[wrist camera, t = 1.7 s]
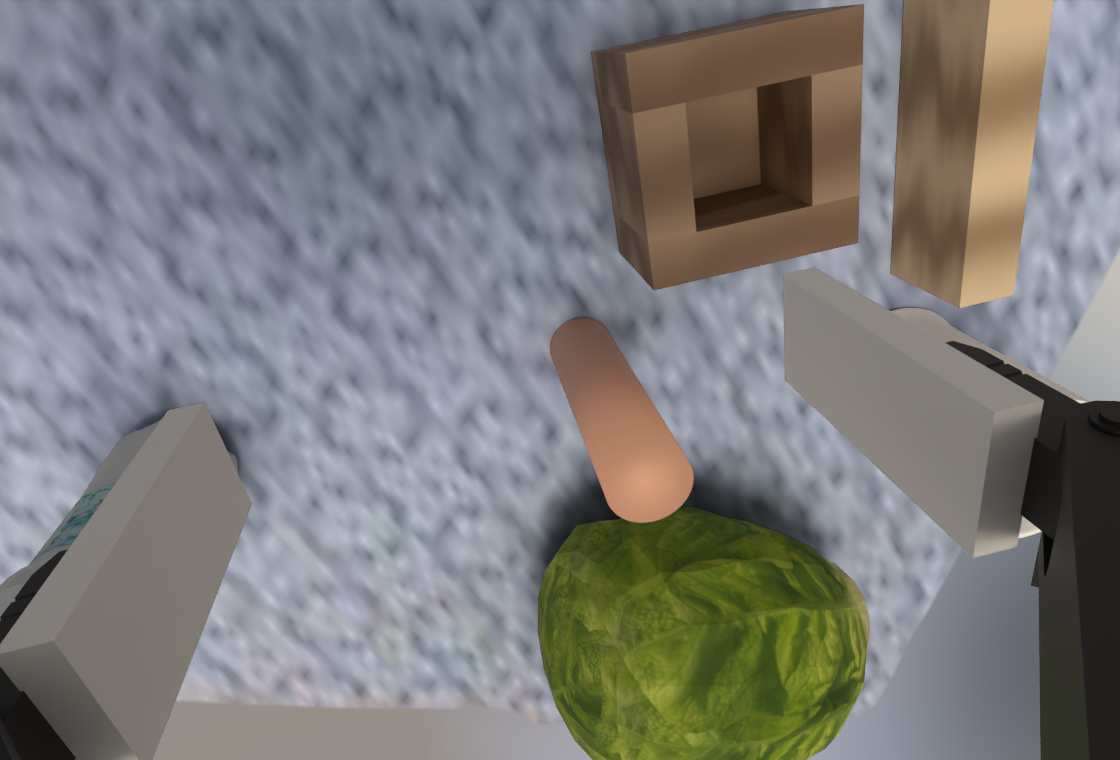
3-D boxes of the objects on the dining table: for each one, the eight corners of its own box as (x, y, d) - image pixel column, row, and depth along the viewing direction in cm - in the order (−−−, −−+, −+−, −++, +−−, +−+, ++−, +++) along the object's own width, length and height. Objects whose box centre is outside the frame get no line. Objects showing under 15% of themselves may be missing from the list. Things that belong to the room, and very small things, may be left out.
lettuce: (730, 632, 56) (897, 776, 43) (496, 707, 46) (627, 924, 33) (768, 449, 51) (966, 551, 39) (518, 485, 41) (679, 640, 28)
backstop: (910, -136, 32) (1007, -173, 26) (970, -148, 32) (1079, -186, 26) (890, 273, 41) (959, 308, 35) (937, 262, 41) (1013, 295, 36)
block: (590, 51, 33) (625, 53, 27) (789, 11, 33) (863, 4, 28) (619, 252, 37) (653, 290, 32) (793, 212, 38) (858, 242, 32)
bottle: (91, 462, 38) (-212, 835, 20) (167, 380, 36) (-86, 702, 19) (201, 526, 40) (22, 902, 23) (274, 452, 39) (145, 790, 21)
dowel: (544, 325, 38) (598, 459, 26) (606, 311, 39) (689, 436, 26) (556, 381, 40) (612, 532, 28) (615, 367, 40) (697, 510, 28)
